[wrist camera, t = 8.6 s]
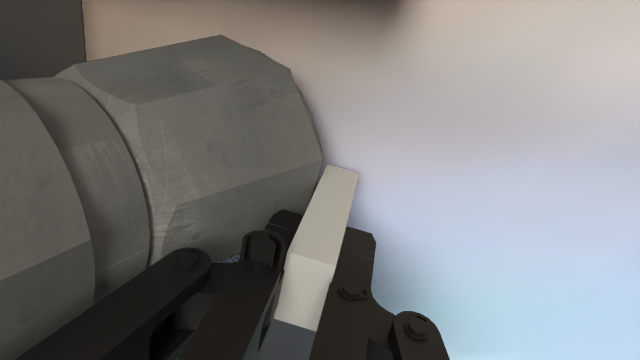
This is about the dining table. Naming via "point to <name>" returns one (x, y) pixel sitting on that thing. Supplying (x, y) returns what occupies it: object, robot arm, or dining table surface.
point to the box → (68, 49)
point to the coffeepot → (140, 172)
